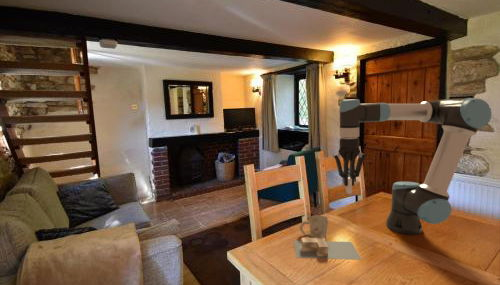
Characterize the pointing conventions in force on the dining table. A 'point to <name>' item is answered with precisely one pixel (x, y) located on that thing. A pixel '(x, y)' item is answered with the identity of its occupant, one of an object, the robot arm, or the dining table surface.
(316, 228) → the mug
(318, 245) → the t block
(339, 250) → the board
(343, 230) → the dining table surface
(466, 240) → the dining table surface
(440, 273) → the dining table surface
